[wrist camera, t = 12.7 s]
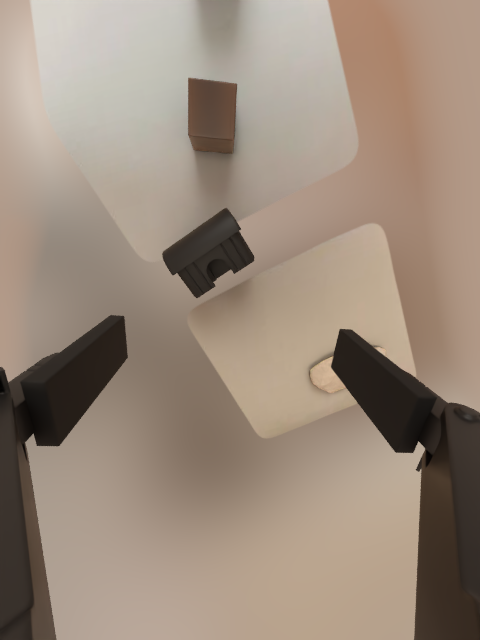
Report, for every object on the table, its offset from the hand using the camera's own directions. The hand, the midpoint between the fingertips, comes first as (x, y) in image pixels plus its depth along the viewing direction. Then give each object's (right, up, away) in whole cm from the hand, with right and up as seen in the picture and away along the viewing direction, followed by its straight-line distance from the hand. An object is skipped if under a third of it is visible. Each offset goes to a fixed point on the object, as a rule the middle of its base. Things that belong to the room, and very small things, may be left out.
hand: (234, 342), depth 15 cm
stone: (+20, -7, +29) cm, 36 cm away
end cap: (-4, +11, +21) cm, 24 cm away
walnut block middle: (-3, +25, +16) cm, 30 cm away
